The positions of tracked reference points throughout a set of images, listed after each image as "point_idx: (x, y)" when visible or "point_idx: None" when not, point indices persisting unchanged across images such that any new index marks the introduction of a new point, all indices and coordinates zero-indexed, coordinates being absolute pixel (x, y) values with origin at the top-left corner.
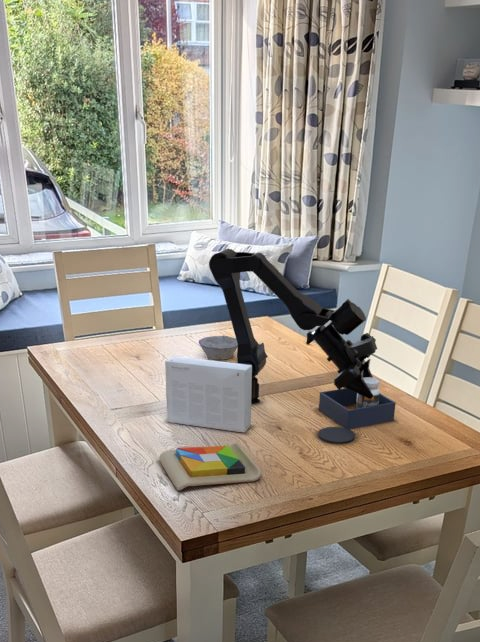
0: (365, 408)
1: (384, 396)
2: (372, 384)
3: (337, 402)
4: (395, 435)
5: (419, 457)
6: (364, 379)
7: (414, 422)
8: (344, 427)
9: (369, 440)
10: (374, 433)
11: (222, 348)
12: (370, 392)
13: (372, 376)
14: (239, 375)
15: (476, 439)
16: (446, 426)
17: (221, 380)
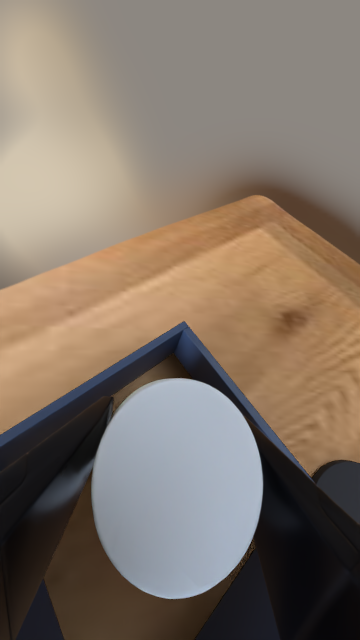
0: (283, 446)
1: (123, 362)
2: (250, 429)
3: None
4: (265, 342)
5: (342, 302)
6: (171, 539)
7: (171, 297)
8: None
9: (328, 410)
10: (278, 398)
11: None
12: (263, 435)
13: (35, 448)
14: None
15: (223, 216)
16: (178, 244)
17: None
